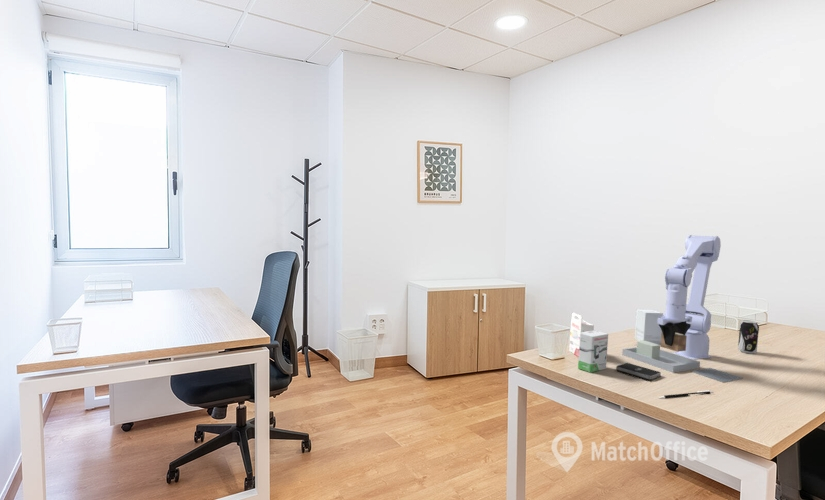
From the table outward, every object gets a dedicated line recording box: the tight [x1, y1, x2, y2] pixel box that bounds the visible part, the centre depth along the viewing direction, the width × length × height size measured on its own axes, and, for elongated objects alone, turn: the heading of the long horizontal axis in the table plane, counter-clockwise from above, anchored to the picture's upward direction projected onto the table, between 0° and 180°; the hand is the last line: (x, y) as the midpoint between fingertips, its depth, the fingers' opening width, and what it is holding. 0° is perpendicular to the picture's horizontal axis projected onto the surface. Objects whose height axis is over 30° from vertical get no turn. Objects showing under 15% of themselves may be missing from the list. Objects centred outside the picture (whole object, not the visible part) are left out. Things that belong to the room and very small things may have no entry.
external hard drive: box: [615, 362, 662, 382], centre depth 139 cm, size 7×11×2 cm, turn 37°
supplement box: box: [634, 308, 664, 345], centre depth 178 cm, size 7×7×13 cm
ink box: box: [577, 330, 609, 373], centre depth 143 cm, size 9×5×12 cm, turn 123°
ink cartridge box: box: [568, 311, 595, 358], centre depth 158 cm, size 9×5×15 cm, turn 5°
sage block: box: [636, 340, 661, 360], centre depth 156 cm, size 4×6×5 cm, turn 24°
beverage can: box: [737, 319, 760, 355], centre depth 167 cm, size 6×6×12 cm
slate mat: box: [690, 367, 744, 384], centre depth 139 cm, size 10×10×1 cm
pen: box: [658, 389, 714, 399], centre depth 123 cm, size 1×19×1 cm, turn 106°
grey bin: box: [621, 346, 701, 373], centre depth 152 cm, size 13×19×2 cm
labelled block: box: [660, 333, 687, 352], centre depth 147 cm, size 4×6×5 cm, turn 24°
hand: (673, 344), depth 147 cm, fingers closed on labelled block, 4 cm apart
